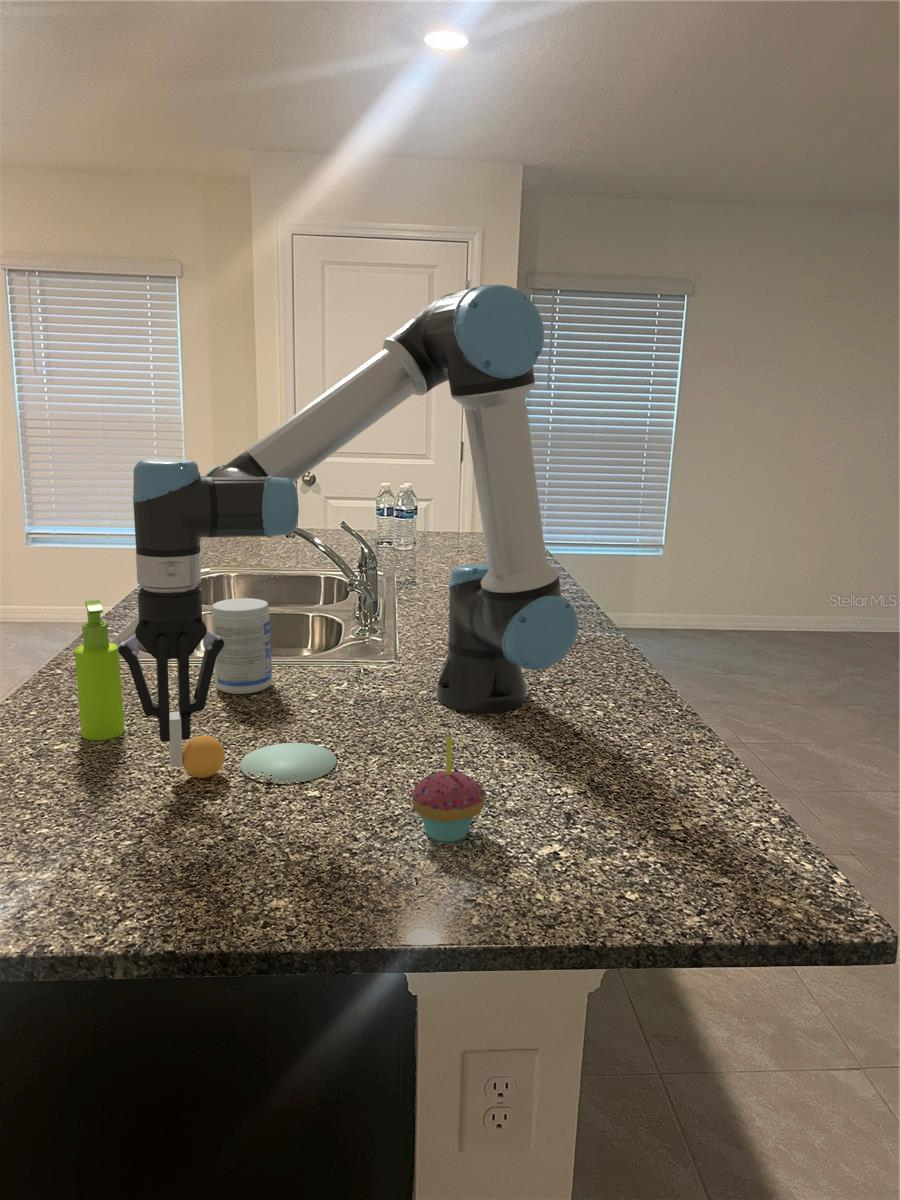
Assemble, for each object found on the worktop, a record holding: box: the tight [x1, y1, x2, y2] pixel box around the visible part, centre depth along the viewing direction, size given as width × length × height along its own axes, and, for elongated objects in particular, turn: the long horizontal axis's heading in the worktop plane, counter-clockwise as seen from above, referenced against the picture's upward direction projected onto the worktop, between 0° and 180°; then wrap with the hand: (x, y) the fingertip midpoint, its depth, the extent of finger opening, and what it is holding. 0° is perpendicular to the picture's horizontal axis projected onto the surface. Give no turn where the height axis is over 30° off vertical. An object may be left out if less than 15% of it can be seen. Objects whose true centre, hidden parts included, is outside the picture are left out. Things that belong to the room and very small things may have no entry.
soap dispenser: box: [73, 599, 125, 741], centre depth 120 cm, size 6×7×20 cm
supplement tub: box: [211, 597, 273, 695], centre depth 142 cm, size 10×10×15 cm
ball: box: [182, 735, 226, 779], centre depth 110 cm, size 6×6×6 cm
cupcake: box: [411, 729, 486, 843], centre depth 96 cm, size 9×8×12 cm
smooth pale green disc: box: [239, 742, 337, 783], centre depth 115 cm, size 13×13×1 cm
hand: (176, 762), depth 109 cm, fingers closed
